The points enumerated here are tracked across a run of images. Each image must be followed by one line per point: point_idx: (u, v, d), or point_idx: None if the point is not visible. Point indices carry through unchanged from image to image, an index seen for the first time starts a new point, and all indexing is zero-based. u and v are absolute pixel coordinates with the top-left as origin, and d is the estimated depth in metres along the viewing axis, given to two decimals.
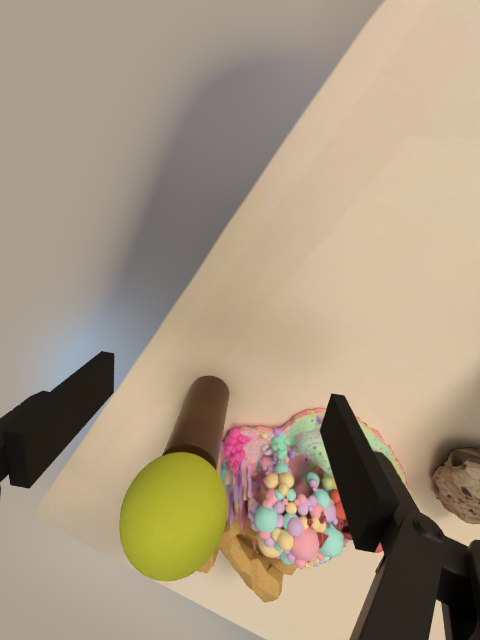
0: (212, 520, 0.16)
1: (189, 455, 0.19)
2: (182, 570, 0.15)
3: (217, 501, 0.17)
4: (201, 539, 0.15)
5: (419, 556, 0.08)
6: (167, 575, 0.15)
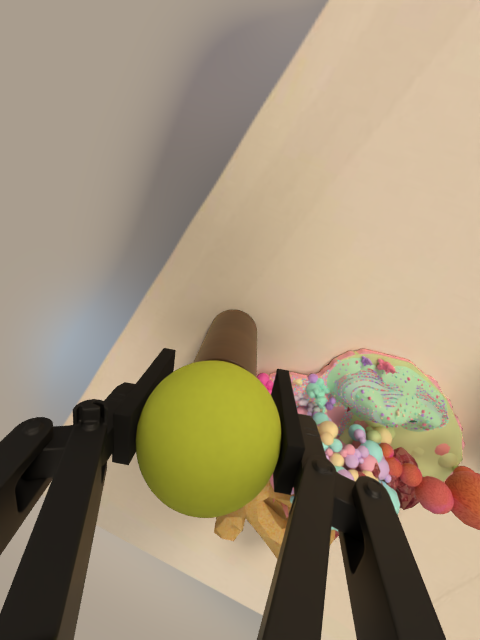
0: (268, 433, 0.11)
1: (227, 362, 0.14)
2: (230, 497, 0.10)
3: (272, 412, 0.12)
4: (257, 454, 0.10)
5: (318, 491, 0.10)
6: (208, 504, 0.10)
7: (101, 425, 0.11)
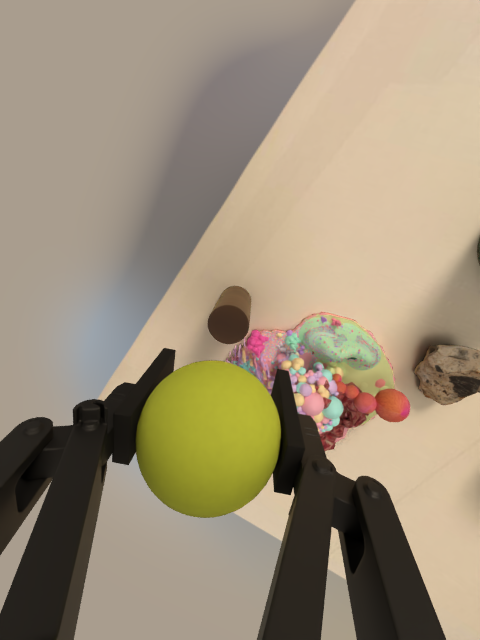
0: (268, 433, 0.11)
1: (227, 362, 0.14)
2: (229, 497, 0.10)
3: (271, 412, 0.12)
4: (256, 453, 0.10)
5: (318, 491, 0.10)
6: (208, 504, 0.10)
7: (101, 425, 0.11)
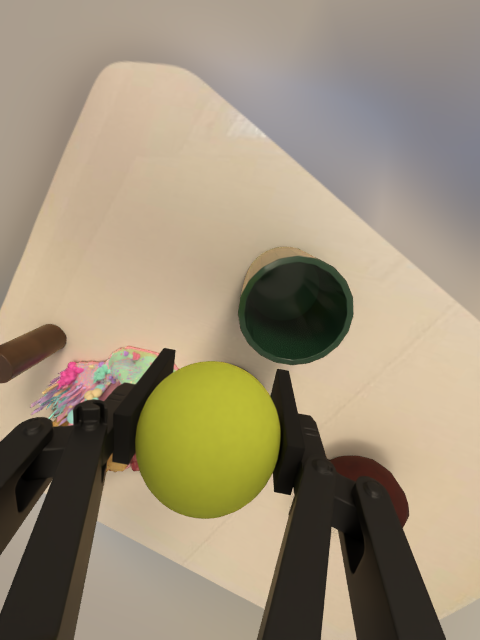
0: (267, 434, 0.11)
1: (226, 363, 0.14)
2: (229, 498, 0.10)
3: (271, 413, 0.12)
4: (256, 455, 0.10)
5: (318, 491, 0.10)
6: (207, 505, 0.10)
7: (101, 425, 0.11)
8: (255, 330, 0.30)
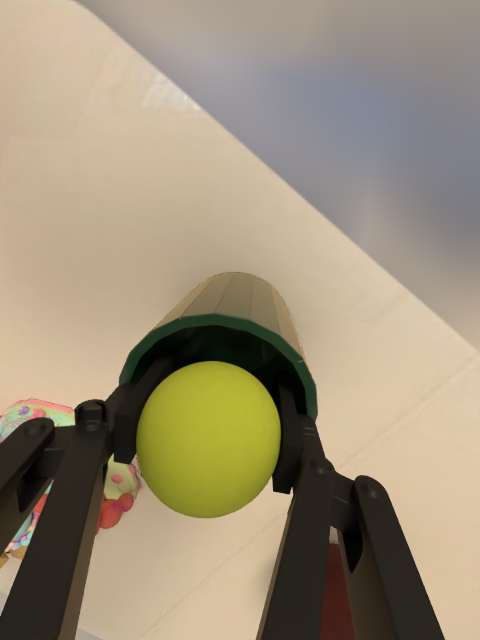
0: (268, 433, 0.11)
1: (227, 363, 0.14)
2: (230, 498, 0.10)
3: (271, 412, 0.12)
4: (256, 455, 0.11)
5: (317, 490, 0.10)
6: (208, 504, 0.10)
7: (103, 425, 0.11)
8: None
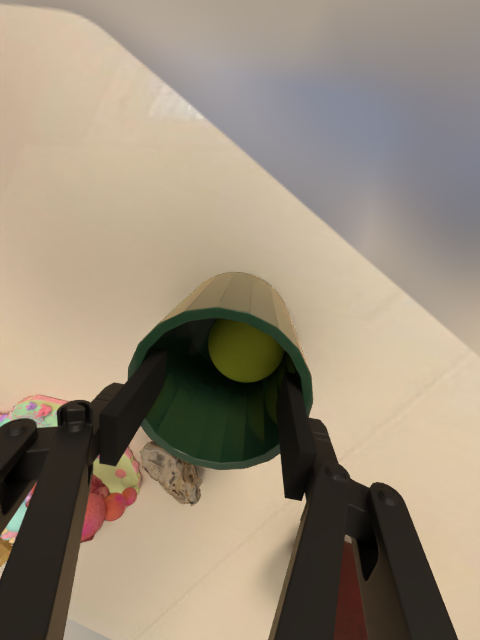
0: None
1: None
2: (274, 361, 0.22)
3: None
4: None
5: (331, 497, 0.09)
6: (265, 365, 0.21)
7: (87, 426, 0.11)
8: (175, 403, 0.20)
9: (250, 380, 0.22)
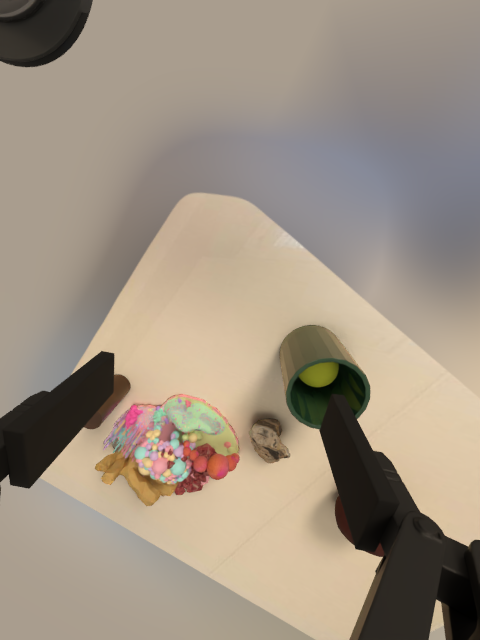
0: None
1: None
2: (330, 377, 0.41)
3: None
4: (335, 366, 0.42)
5: (419, 556, 0.08)
6: (325, 378, 0.41)
7: None
8: (293, 398, 0.40)
9: (316, 385, 0.42)
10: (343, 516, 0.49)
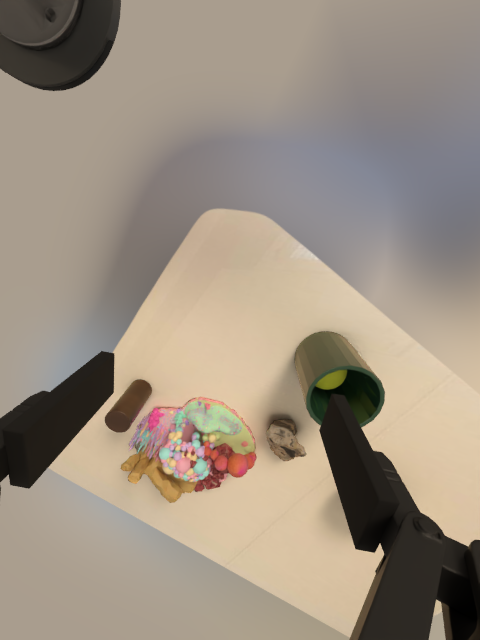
0: None
1: None
2: (334, 380, 0.44)
3: None
4: (341, 371, 0.44)
5: (419, 556, 0.08)
6: (329, 381, 0.44)
7: None
8: (311, 402, 0.43)
9: (322, 387, 0.45)
10: None
